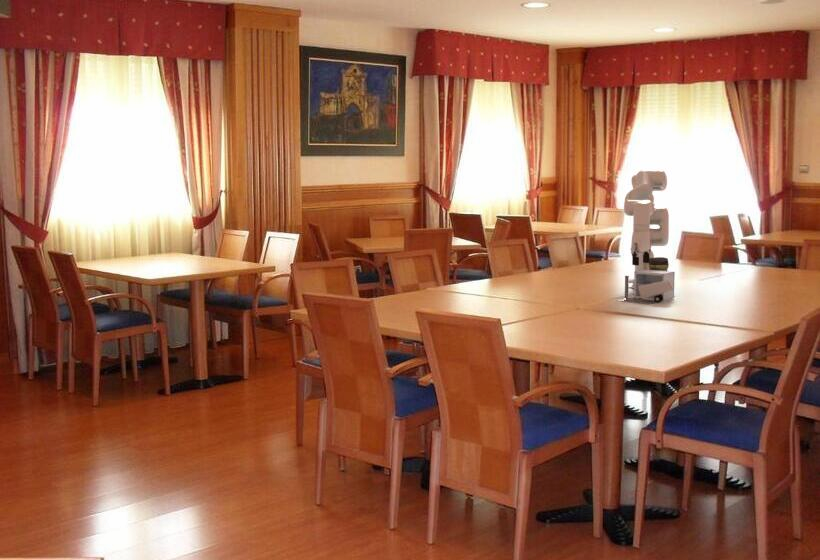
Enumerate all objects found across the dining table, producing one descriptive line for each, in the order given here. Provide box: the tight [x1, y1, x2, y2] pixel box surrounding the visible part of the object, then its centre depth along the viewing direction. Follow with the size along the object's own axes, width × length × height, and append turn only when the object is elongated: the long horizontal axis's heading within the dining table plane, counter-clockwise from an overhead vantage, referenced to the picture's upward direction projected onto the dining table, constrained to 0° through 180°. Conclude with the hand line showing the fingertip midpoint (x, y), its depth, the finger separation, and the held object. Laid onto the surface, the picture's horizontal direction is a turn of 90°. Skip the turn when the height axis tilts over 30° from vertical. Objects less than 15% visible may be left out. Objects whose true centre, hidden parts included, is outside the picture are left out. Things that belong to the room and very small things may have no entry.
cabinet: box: [633, 270, 675, 302], centre depth 477 cm, size 16×10×13 cm, turn 47°
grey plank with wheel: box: [638, 281, 673, 303], centre depth 464 cm, size 4×10×15 cm
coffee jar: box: [648, 256, 670, 271], centre depth 489 cm, size 10×8×19 cm
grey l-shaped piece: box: [624, 275, 662, 305], centre depth 468 cm, size 18×11×11 cm, turn 47°
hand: (640, 264), depth 467 cm, fingers open, 9 cm apart
